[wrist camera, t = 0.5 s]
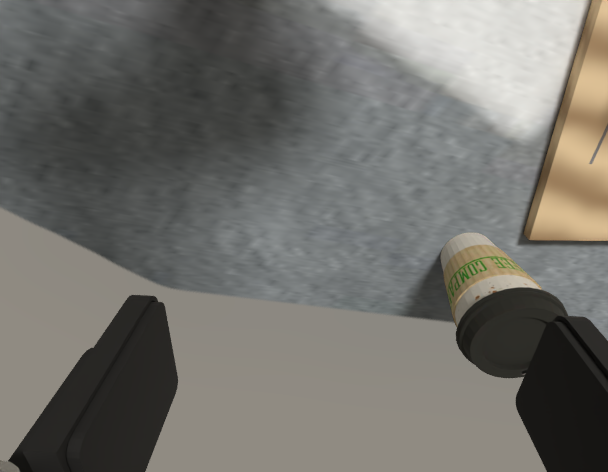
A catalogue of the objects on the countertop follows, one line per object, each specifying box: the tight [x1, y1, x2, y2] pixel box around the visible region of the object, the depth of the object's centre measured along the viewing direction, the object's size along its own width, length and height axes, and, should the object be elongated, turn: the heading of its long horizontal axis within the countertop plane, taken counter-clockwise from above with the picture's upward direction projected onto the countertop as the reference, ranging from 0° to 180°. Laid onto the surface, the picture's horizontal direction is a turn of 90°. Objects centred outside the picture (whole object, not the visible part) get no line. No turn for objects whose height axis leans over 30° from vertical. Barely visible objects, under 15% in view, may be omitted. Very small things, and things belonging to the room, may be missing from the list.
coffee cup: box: [440, 233, 568, 378], centre depth 42 cm, size 10×10×15 cm
